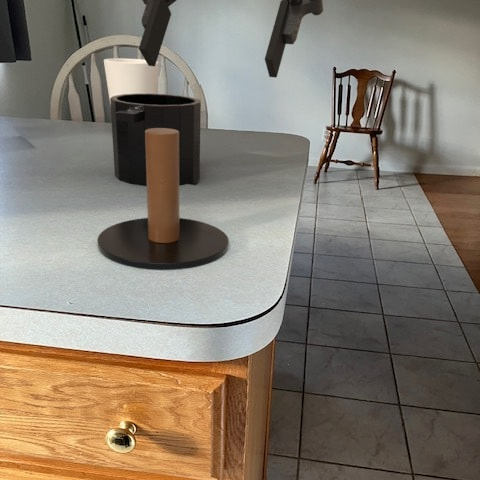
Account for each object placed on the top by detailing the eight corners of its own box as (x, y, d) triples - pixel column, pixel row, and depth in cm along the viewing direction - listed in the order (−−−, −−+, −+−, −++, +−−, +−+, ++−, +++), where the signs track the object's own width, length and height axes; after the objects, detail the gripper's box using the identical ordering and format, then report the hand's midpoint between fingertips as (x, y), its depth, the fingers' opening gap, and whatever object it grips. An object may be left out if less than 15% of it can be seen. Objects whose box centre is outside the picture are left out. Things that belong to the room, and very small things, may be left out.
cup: (168, 137, 103) (167, 63, 97) (118, 140, 98) (114, 62, 92) (148, 127, 110) (146, 58, 104) (101, 130, 105) (96, 57, 99)
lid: (71, 261, 50) (58, 134, 44) (136, 221, 60) (132, 114, 55) (199, 285, 46) (202, 152, 41) (244, 238, 57) (251, 127, 52)
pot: (88, 188, 70) (81, 102, 65) (148, 162, 85) (145, 89, 79) (170, 200, 67) (169, 111, 62) (217, 171, 82) (220, 96, 77)
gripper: (374, -79, 58) (330, 97, 55) (165, -81, 65) (115, 75, 62) (375, -151, 51) (324, 46, 48) (141, -145, 58) (82, 28, 55)
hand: (206, 63), depth 55 cm, fingers open, 13 cm apart
